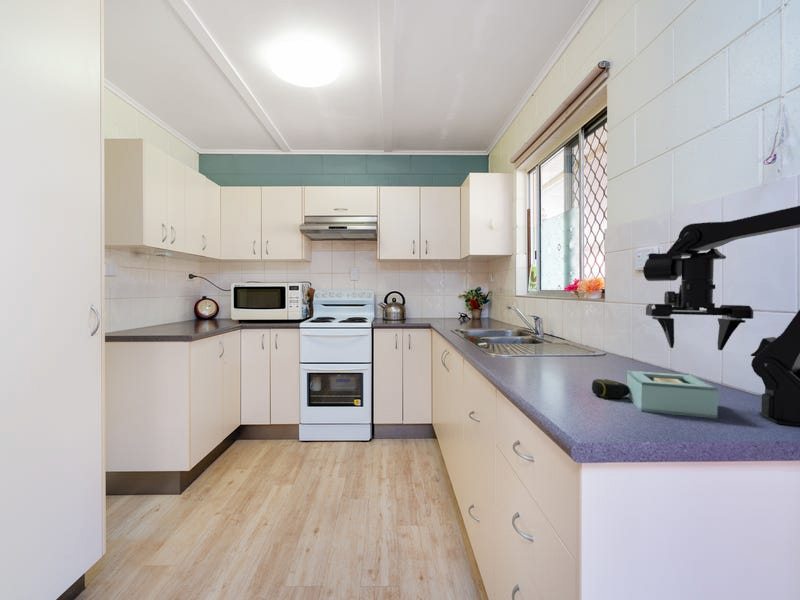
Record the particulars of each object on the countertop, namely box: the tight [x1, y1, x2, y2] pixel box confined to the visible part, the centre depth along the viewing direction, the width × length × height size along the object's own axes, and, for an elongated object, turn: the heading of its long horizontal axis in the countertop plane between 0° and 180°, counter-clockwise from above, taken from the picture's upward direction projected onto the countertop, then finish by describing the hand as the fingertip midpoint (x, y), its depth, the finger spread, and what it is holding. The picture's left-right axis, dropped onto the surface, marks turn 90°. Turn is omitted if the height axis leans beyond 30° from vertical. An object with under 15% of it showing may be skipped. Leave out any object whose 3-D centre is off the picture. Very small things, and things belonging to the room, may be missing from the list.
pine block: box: [654, 378, 683, 383], centre depth 84 cm, size 4×4×5 cm
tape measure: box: [591, 378, 630, 399], centre depth 92 cm, size 7×7×4 cm
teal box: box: [626, 370, 719, 419], centre depth 84 cm, size 13×13×6 cm
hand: (695, 348), depth 88 cm, fingers open, 9 cm apart
